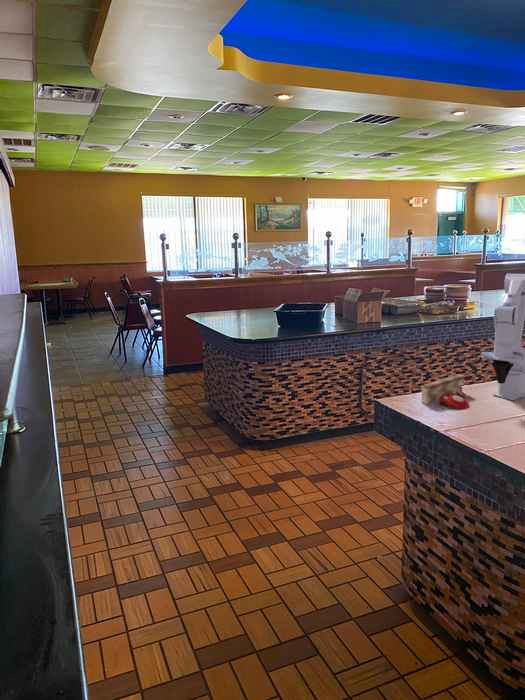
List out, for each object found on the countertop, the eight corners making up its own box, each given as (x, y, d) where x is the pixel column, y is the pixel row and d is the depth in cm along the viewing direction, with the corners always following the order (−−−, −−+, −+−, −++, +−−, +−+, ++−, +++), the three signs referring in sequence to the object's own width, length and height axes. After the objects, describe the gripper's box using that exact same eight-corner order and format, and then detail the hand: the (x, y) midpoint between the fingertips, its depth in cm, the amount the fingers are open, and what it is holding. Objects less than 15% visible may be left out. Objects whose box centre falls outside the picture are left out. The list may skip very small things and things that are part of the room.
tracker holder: (472, 407, 178) (442, 400, 179) (468, 417, 181) (438, 410, 182) (467, 388, 189) (439, 382, 190) (463, 398, 191) (435, 392, 192)
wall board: (457, 391, 198) (458, 373, 196) (464, 393, 196) (464, 375, 194) (421, 402, 187) (422, 384, 186) (428, 404, 185) (428, 386, 183)
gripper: (476, 341, 176) (474, 380, 179) (518, 348, 164) (515, 390, 167) (489, 337, 180) (487, 376, 183) (530, 344, 168) (527, 385, 171)
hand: (501, 382), depth 176 cm, fingers closed
